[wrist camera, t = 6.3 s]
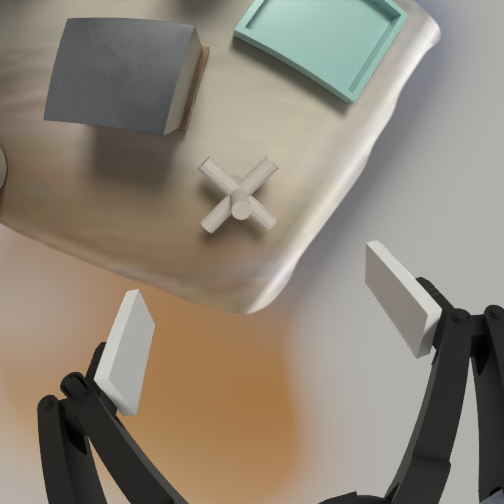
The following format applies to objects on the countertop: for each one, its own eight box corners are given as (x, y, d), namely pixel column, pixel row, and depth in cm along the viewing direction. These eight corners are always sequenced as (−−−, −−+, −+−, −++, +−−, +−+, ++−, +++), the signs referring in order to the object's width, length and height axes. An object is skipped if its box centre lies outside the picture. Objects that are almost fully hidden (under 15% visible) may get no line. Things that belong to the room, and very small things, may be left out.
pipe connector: (293, 182, 37) (316, 208, 28) (237, 235, 39) (242, 276, 31) (235, 125, 33) (241, 132, 24) (178, 185, 36) (164, 213, 27)
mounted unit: (87, 114, 30) (29, 124, 18) (106, 38, 26) (55, 14, 14) (187, 130, 33) (168, 143, 21) (209, 50, 28) (203, 21, 17)
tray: (233, 35, 28) (234, 29, 25) (297, -48, 22) (302, -57, 19) (344, 102, 32) (354, 102, 30) (396, 19, 27) (408, 15, 24)
